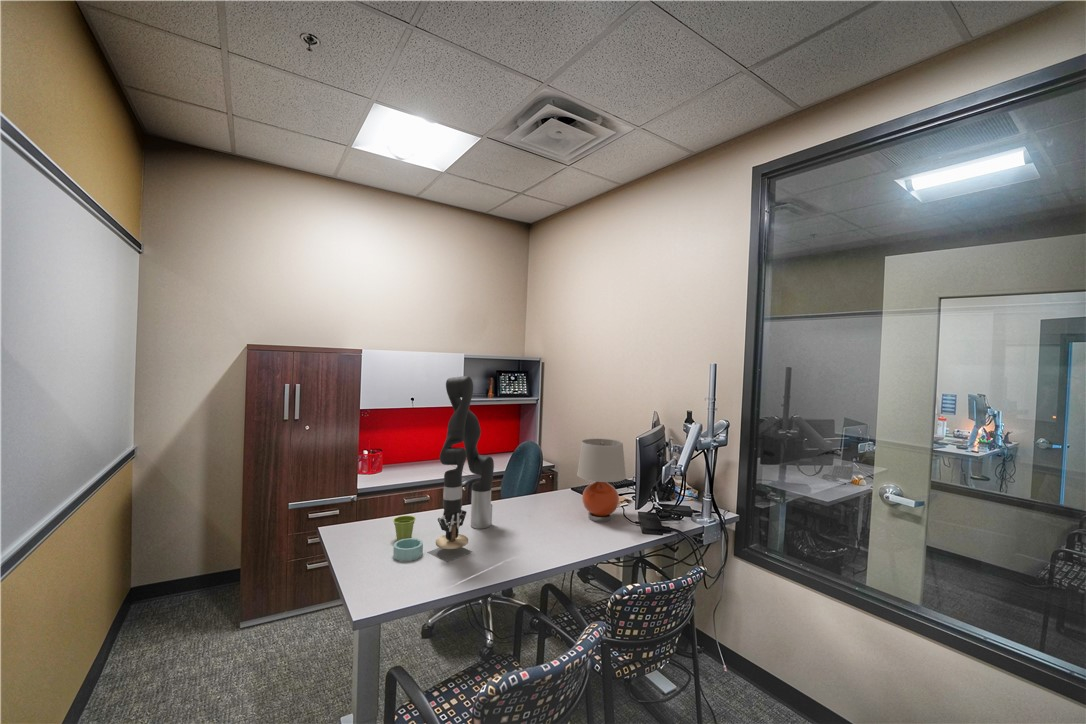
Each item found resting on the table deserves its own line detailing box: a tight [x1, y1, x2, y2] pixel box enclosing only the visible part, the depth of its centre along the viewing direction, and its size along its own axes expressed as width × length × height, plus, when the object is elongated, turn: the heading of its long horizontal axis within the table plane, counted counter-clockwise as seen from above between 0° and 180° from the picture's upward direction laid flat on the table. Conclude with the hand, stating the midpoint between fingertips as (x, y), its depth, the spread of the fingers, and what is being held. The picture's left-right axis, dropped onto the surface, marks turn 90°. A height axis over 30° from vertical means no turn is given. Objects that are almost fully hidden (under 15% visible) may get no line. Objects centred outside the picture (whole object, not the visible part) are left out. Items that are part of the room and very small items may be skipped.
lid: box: [435, 524, 469, 549], centre depth 186 cm, size 13×13×7 cm
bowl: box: [392, 537, 424, 562], centre depth 182 cm, size 11×11×5 cm
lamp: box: [576, 438, 627, 523], centre depth 233 cm, size 25×25×39 cm
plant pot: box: [392, 515, 417, 541], centre depth 199 cm, size 9×9×9 cm
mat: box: [427, 546, 474, 563], centre depth 186 cm, size 13×13×1 cm
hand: (452, 538), depth 186 cm, fingers closed on lid, 2 cm apart
